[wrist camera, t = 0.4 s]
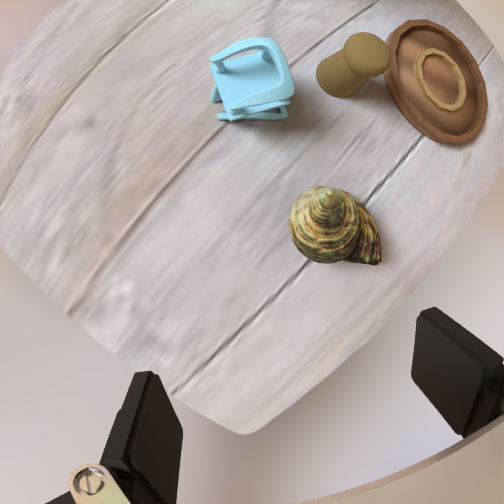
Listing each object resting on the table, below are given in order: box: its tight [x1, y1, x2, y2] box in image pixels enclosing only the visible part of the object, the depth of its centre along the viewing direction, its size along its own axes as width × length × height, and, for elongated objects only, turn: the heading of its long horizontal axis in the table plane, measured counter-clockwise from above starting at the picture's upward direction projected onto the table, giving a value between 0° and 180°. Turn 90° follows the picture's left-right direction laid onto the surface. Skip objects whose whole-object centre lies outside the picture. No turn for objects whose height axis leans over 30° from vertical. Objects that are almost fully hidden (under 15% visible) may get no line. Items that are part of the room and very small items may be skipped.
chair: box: [210, 37, 295, 122], centre depth 28 cm, size 8×8×12 cm
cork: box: [316, 32, 391, 98], centre depth 29 cm, size 6×6×11 cm
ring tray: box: [383, 20, 488, 144], centre depth 33 cm, size 20×20×2 cm
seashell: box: [289, 186, 381, 265], centre depth 34 cm, size 11×11×10 cm
